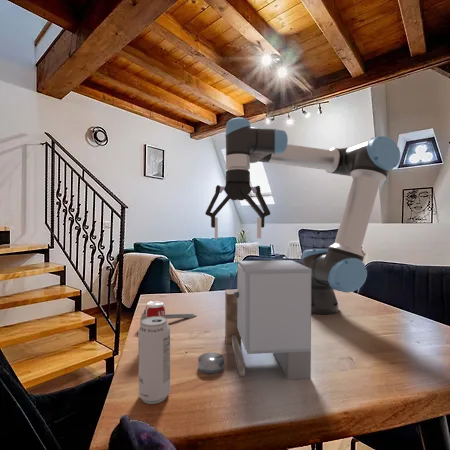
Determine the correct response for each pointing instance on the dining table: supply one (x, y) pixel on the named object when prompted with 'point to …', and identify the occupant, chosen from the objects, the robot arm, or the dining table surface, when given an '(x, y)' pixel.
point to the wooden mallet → (233, 329)
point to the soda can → (155, 309)
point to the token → (211, 363)
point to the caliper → (170, 316)
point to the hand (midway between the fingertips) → (237, 238)
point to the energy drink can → (154, 359)
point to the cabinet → (276, 312)
